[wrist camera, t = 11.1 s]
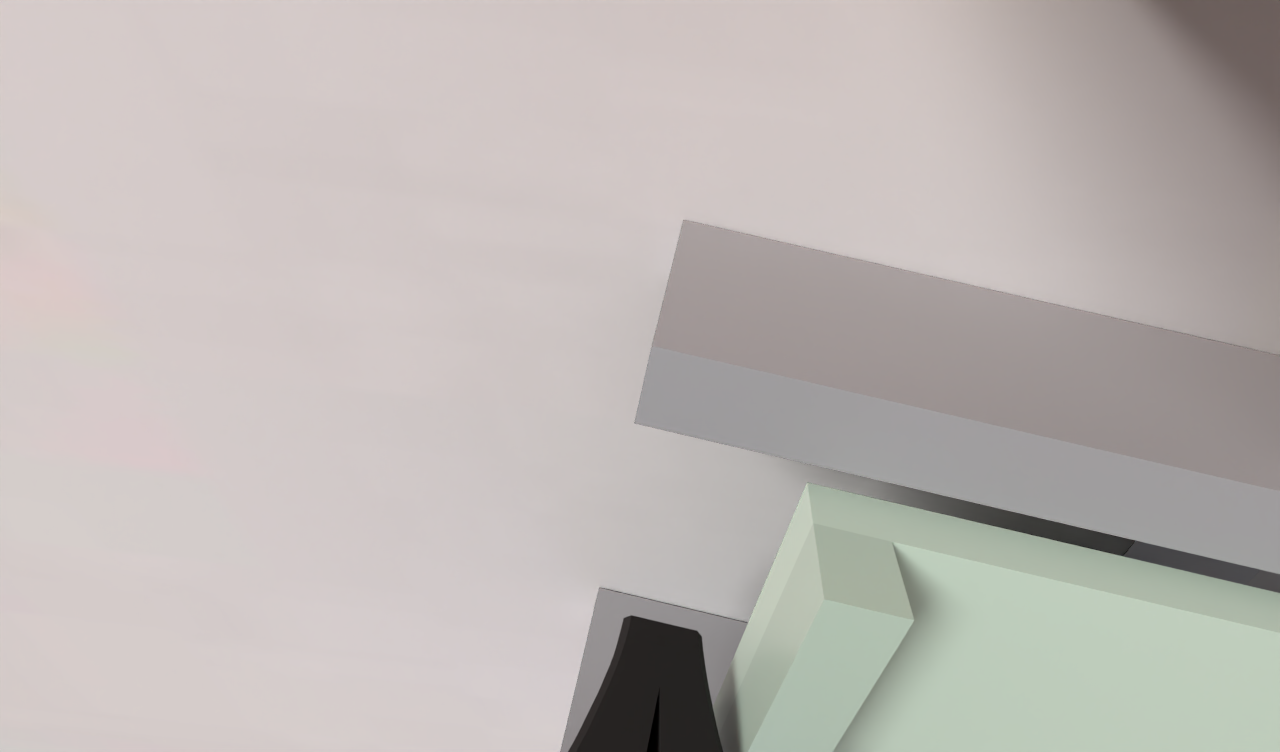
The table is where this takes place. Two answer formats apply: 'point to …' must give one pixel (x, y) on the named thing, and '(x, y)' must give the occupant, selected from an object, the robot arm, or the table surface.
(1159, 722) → the lid
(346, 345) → the table surface
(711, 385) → the housing
